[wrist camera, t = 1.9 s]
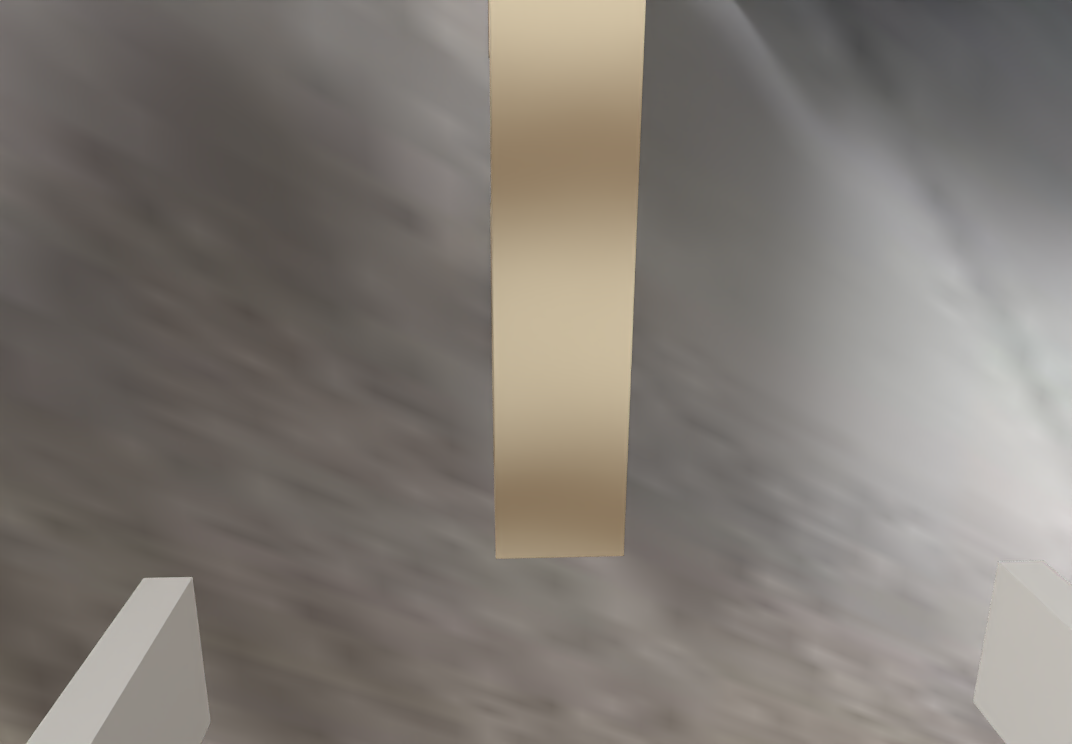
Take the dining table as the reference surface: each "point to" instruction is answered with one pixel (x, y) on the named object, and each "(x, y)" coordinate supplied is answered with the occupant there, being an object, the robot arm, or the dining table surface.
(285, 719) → the dining table surface
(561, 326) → the maple board
